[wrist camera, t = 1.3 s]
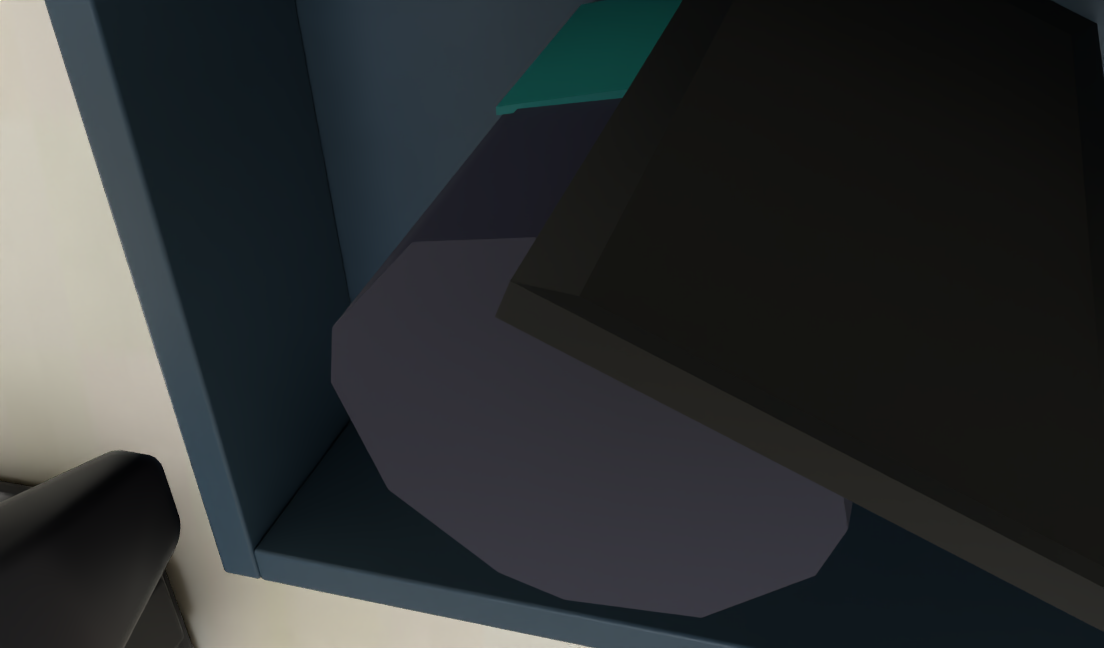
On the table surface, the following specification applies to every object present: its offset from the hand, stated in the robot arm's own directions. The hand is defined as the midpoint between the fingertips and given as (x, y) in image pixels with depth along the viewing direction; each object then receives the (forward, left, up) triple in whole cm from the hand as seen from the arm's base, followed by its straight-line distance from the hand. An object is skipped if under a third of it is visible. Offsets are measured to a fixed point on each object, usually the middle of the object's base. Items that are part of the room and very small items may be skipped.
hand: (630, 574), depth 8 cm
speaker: (0, 0, -11) cm, 11 cm away
